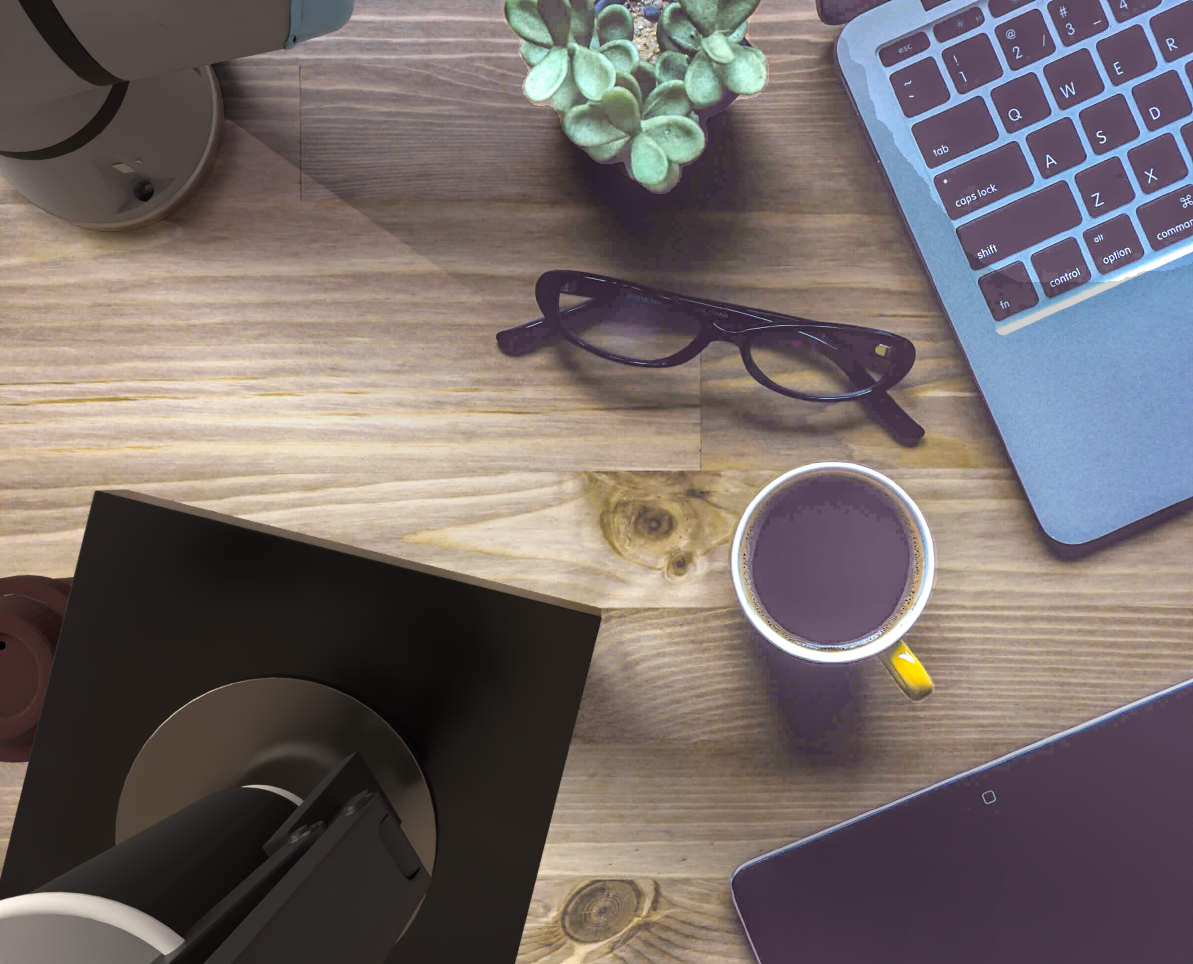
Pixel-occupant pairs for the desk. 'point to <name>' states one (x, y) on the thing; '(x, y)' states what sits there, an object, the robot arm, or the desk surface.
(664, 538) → the desk surface
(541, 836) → the stove
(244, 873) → the dixie cup
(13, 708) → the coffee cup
